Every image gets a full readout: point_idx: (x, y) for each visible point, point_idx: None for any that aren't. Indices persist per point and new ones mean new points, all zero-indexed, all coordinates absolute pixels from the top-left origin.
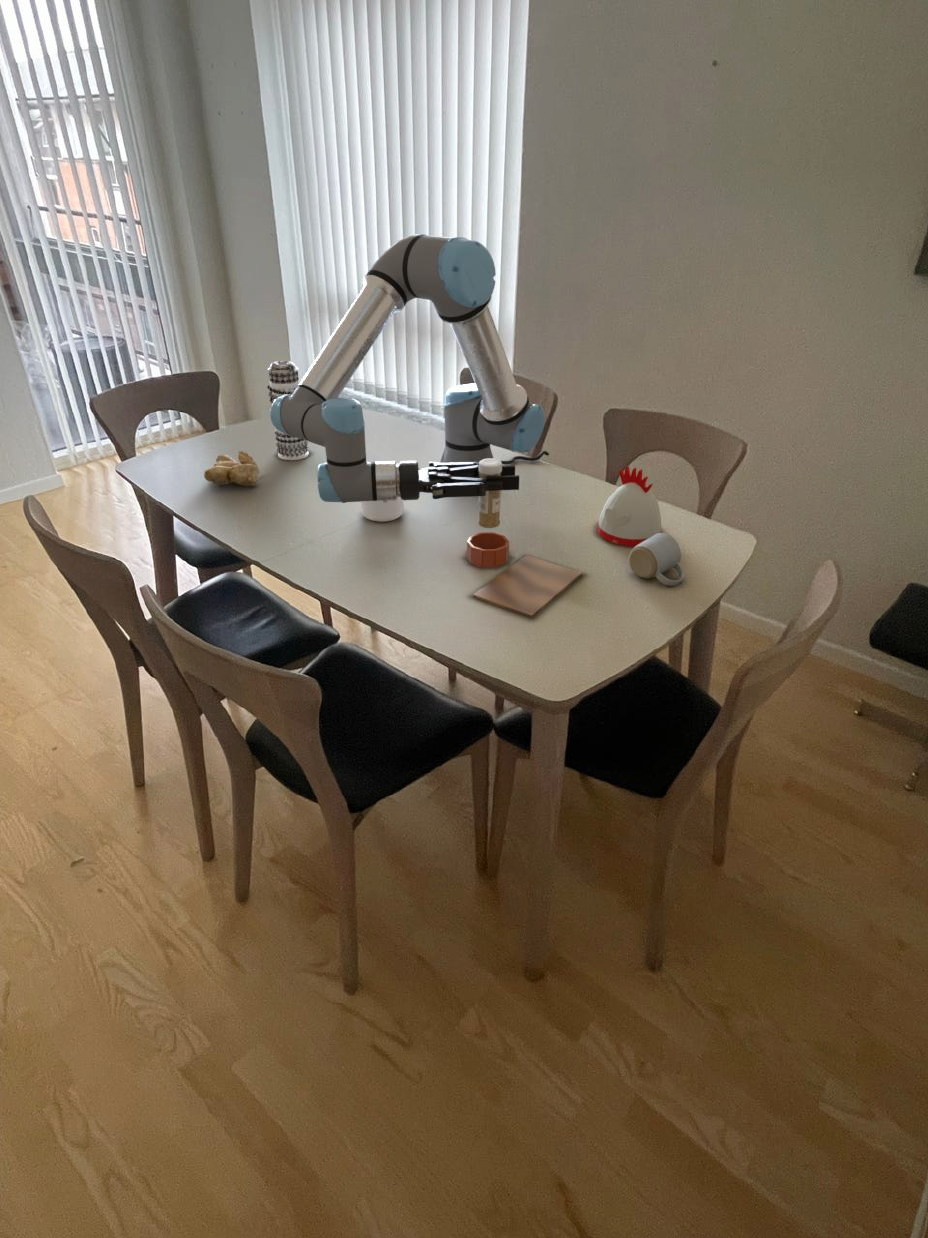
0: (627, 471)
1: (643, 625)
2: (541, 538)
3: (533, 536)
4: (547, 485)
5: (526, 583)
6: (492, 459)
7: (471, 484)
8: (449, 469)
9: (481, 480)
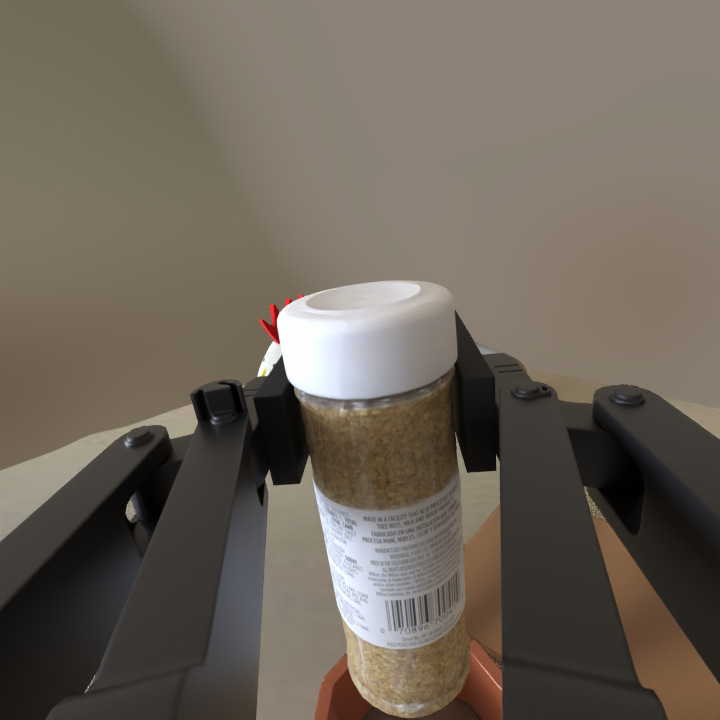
0: (279, 312)
1: (707, 430)
2: (294, 553)
3: (274, 572)
4: (6, 512)
5: (644, 624)
6: (318, 297)
7: (716, 442)
8: (192, 672)
9: (550, 397)
